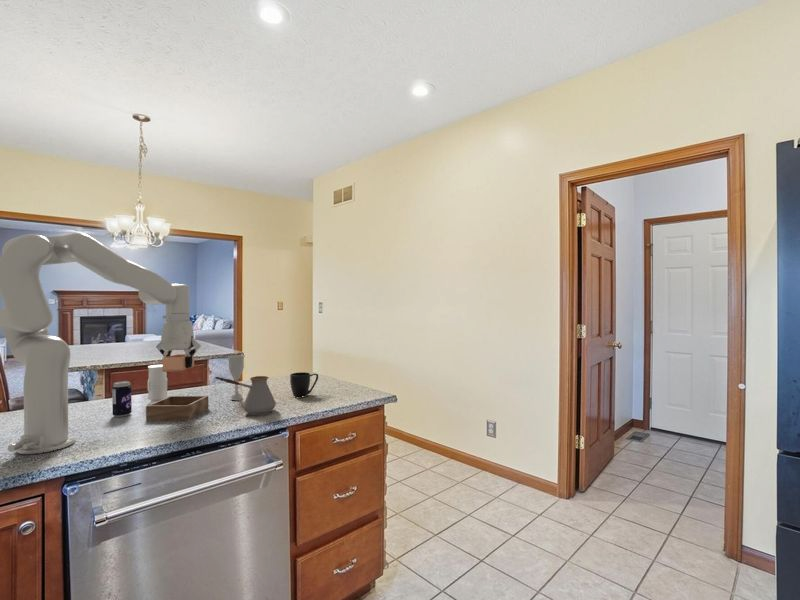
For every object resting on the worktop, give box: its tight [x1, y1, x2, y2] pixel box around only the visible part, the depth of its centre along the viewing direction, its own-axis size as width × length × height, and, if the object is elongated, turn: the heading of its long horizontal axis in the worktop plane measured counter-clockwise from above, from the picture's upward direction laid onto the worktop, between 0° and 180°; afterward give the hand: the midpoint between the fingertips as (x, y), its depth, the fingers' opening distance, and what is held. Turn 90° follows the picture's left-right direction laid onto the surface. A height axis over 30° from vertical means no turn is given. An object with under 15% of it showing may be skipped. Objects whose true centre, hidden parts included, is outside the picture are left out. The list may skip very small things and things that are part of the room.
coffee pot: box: [212, 375, 277, 416], centre depth 146 cm, size 21×12×15 cm, turn 126°
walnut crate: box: [145, 395, 209, 421], centre depth 148 cm, size 15×15×5 cm
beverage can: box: [111, 380, 133, 418], centre depth 147 cm, size 6×6×12 cm
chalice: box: [227, 354, 246, 401], centre depth 169 cm, size 7×7×18 cm
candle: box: [147, 364, 168, 405], centre depth 165 cm, size 7×7×15 cm
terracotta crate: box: [161, 353, 195, 373], centre depth 148 cm, size 9×6×5 cm
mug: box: [289, 371, 319, 398], centre depth 175 cm, size 8×12×10 cm
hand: (178, 367), depth 148 cm, fingers closed on terracotta crate, 6 cm apart
